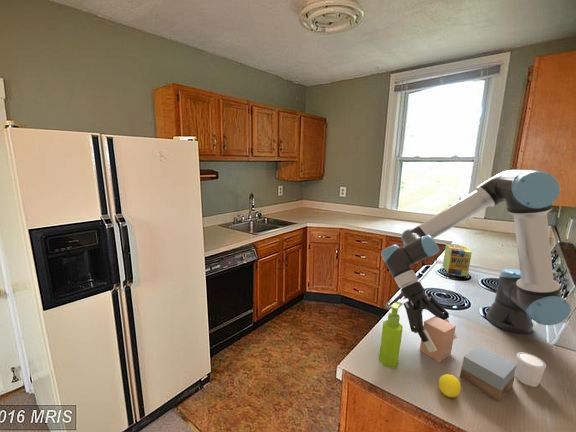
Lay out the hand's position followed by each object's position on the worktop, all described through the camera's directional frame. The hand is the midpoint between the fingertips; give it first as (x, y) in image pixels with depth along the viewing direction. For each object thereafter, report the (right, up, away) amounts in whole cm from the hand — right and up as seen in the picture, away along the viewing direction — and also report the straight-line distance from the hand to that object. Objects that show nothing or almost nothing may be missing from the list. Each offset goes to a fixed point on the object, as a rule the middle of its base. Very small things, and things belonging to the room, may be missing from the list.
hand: (444, 344), depth 93 cm
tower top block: (+7, -3, -10) cm, 13 cm away
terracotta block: (-2, -4, +3) cm, 5 cm away
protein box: (+50, +9, +77) cm, 92 cm away
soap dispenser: (-19, -4, -2) cm, 20 cm away
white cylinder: (+21, -7, -8) cm, 23 cm away
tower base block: (+7, -7, -9) cm, 14 cm away
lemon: (-7, -7, -14) cm, 17 cm away
